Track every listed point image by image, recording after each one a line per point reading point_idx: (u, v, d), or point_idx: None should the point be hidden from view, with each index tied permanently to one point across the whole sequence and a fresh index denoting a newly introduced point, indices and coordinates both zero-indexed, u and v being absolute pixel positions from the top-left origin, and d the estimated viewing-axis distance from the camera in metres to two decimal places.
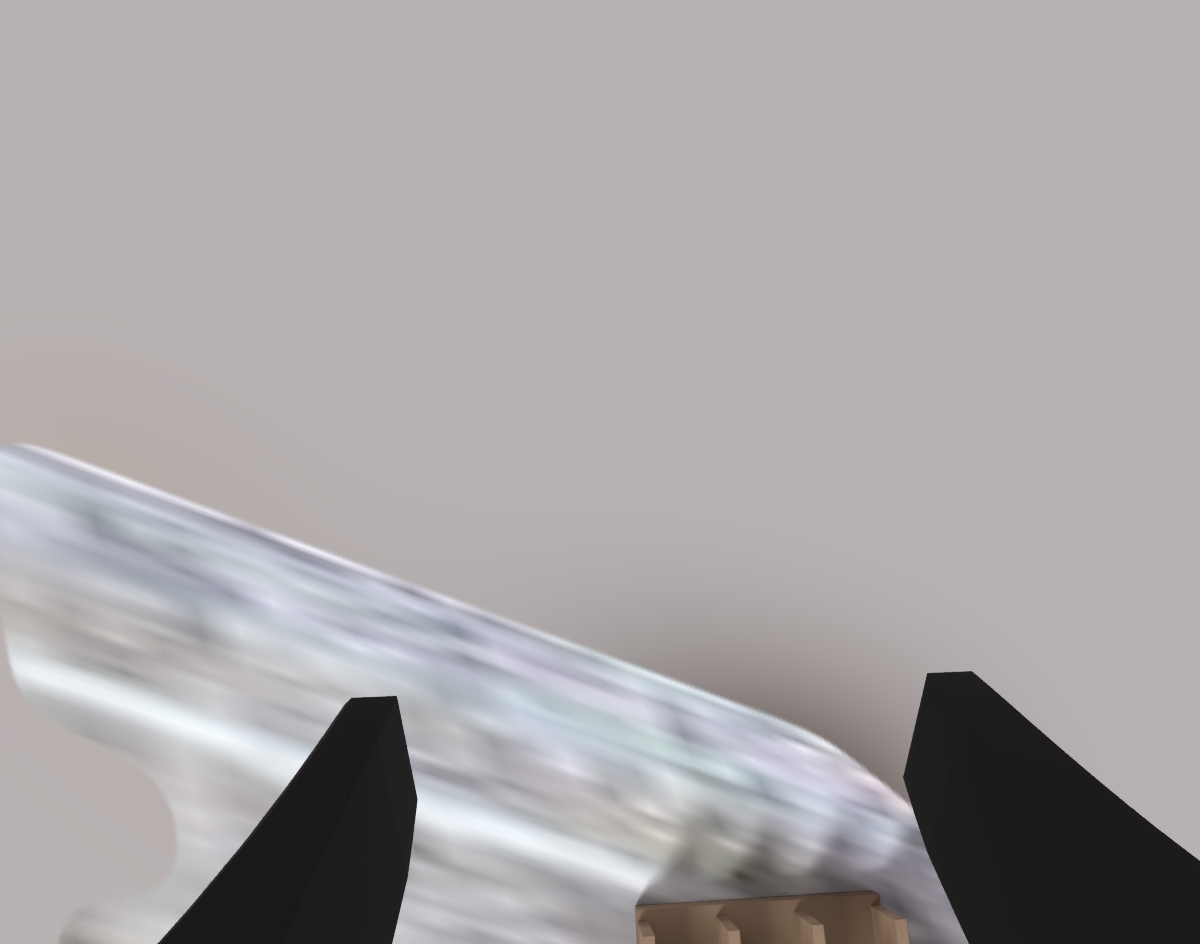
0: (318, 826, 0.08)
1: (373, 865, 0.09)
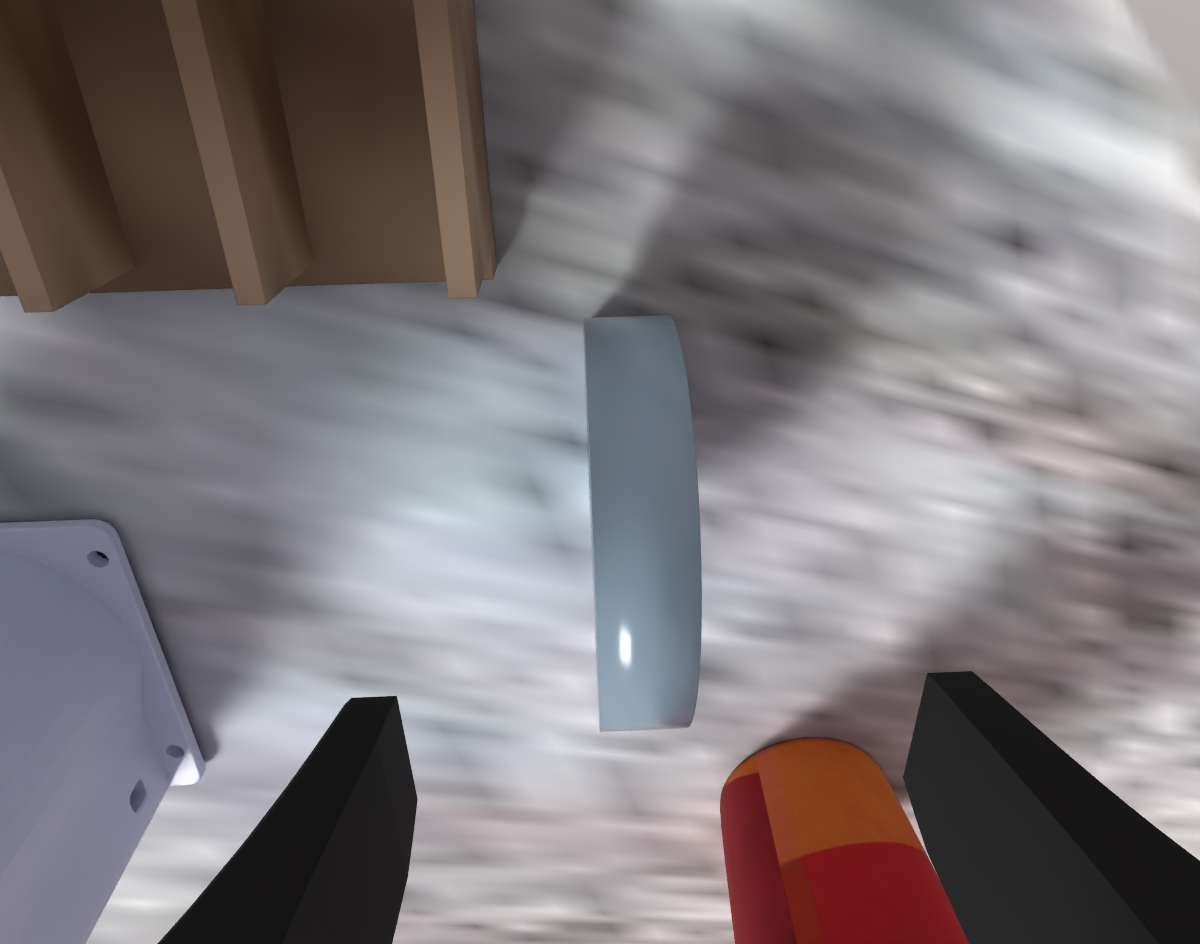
0: (318, 826, 0.08)
1: (373, 865, 0.09)
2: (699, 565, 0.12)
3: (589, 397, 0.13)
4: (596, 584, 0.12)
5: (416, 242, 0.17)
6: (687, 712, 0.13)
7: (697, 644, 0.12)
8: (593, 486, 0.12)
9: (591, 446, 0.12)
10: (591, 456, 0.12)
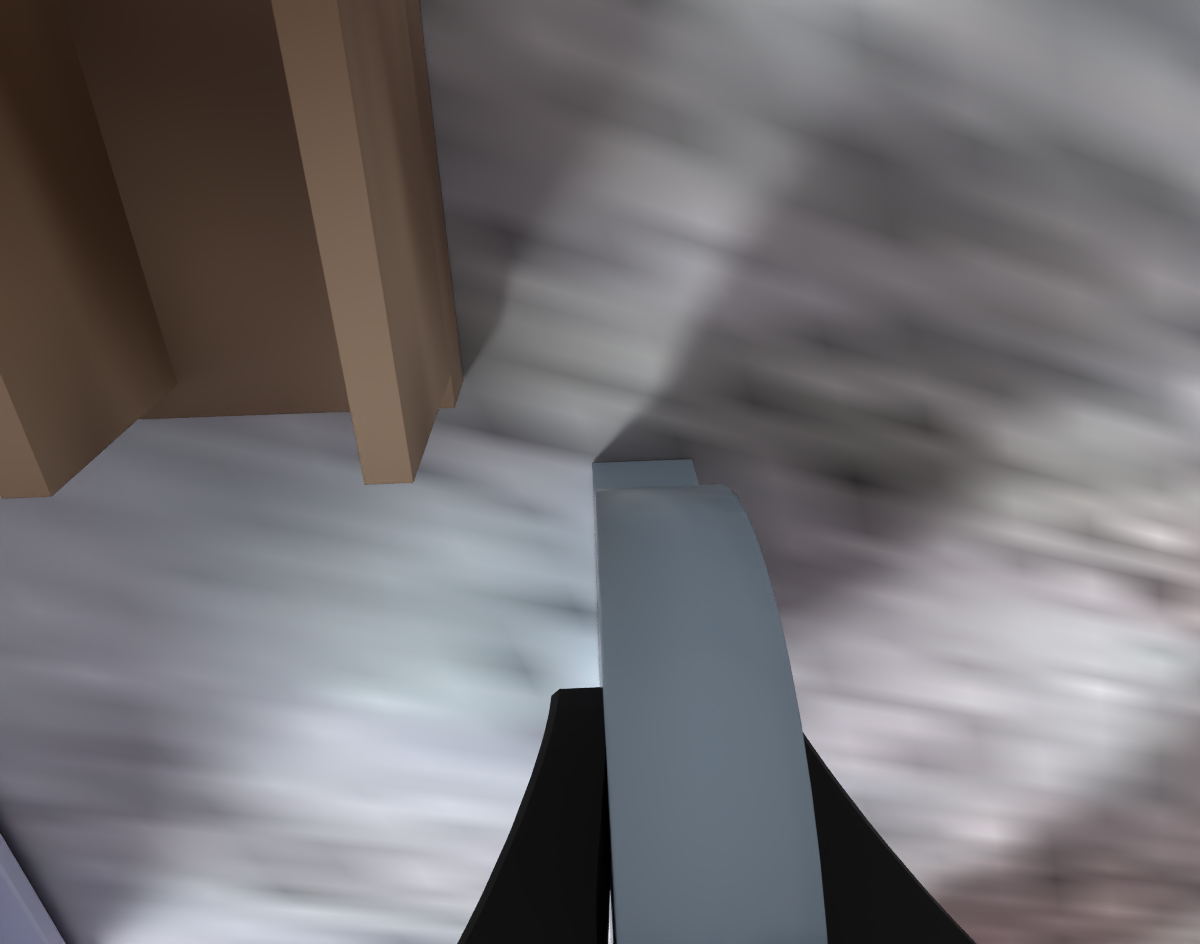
0: (582, 814, 0.08)
1: (605, 854, 0.09)
2: None
3: (611, 717, 0.07)
4: None
5: (334, 355, 0.11)
6: None
7: None
8: (621, 919, 0.06)
9: (616, 828, 0.06)
10: (617, 853, 0.06)
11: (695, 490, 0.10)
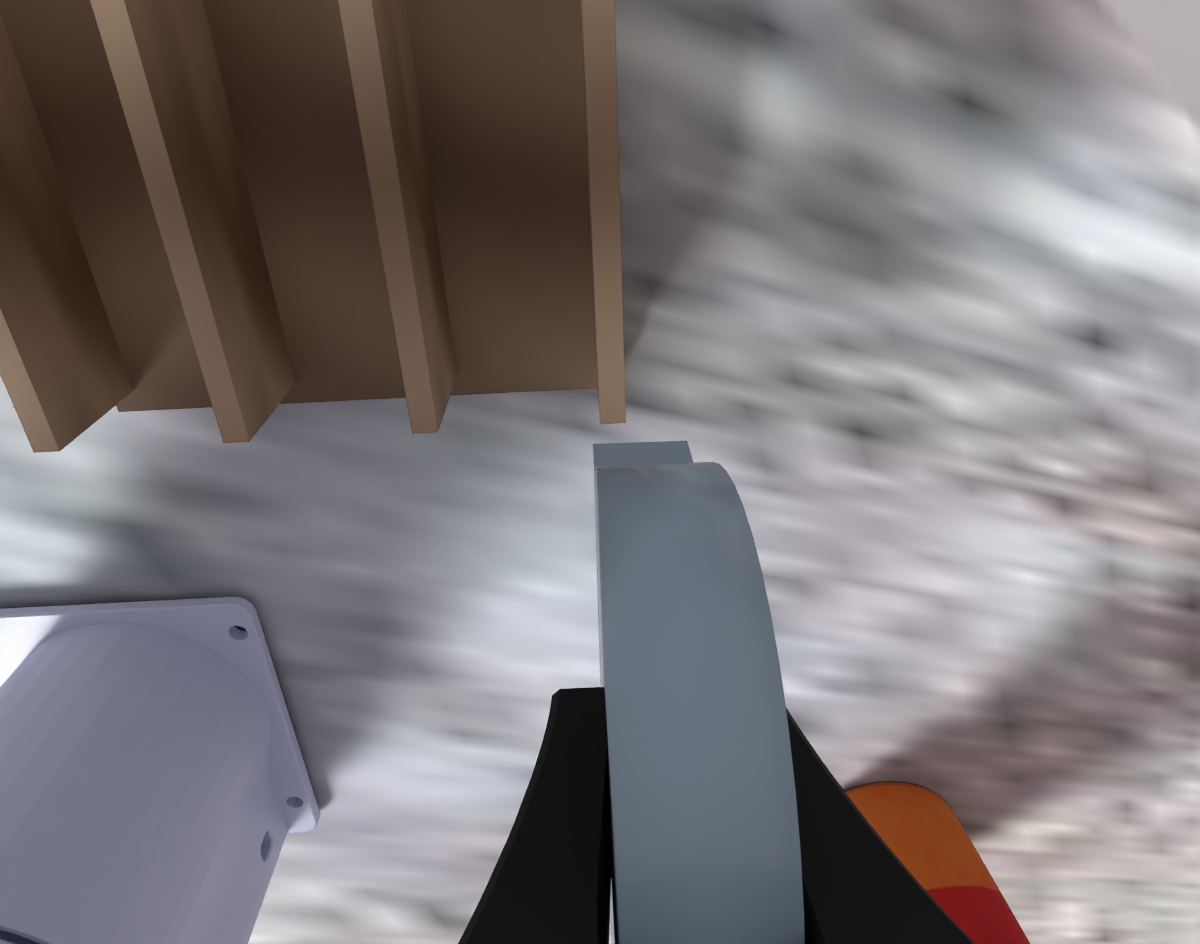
0: (583, 814, 0.08)
1: (606, 854, 0.09)
2: None
3: (610, 664, 0.07)
4: None
5: (551, 356, 0.18)
6: None
7: None
8: (618, 839, 0.07)
9: (614, 760, 0.07)
10: (615, 782, 0.07)
11: (688, 467, 0.10)
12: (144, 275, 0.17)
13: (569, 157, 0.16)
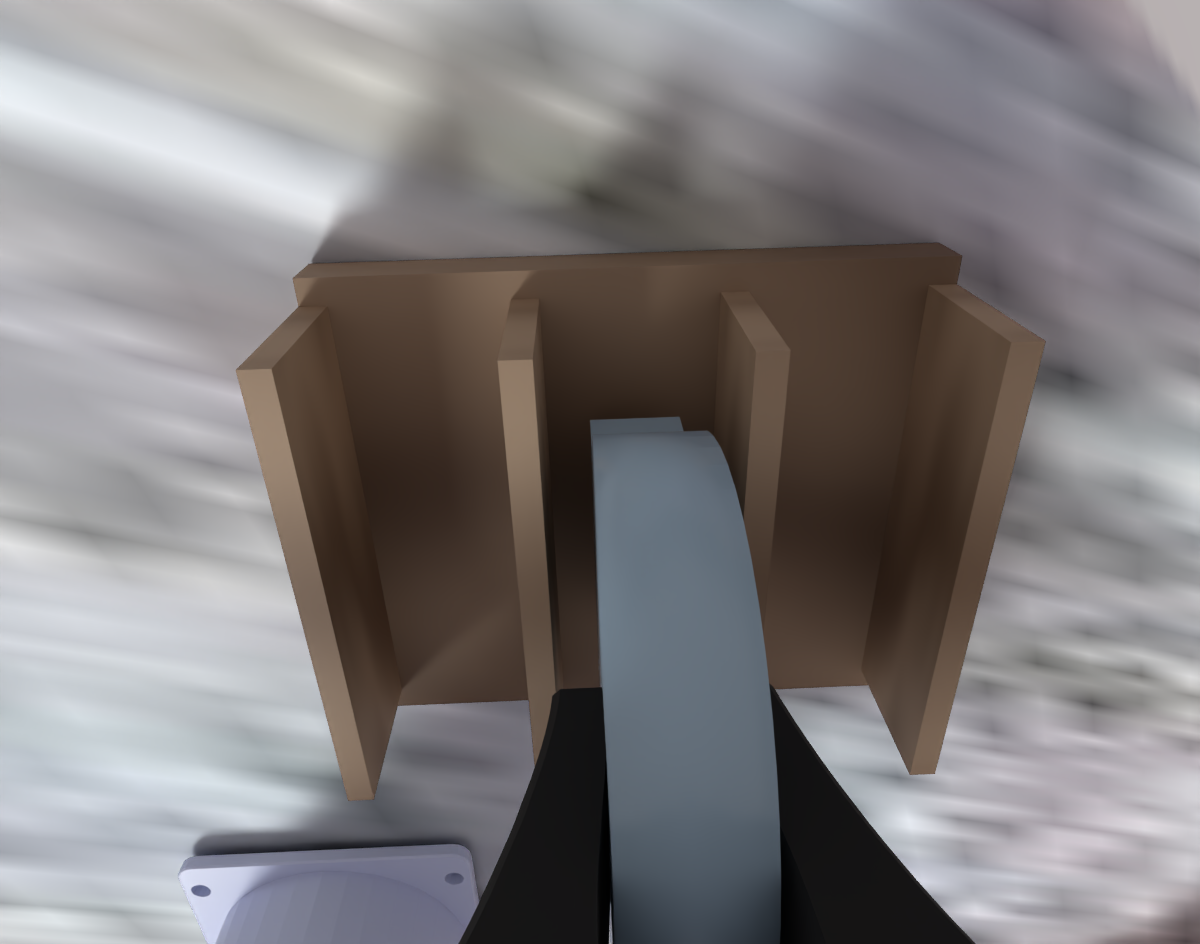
0: (583, 814, 0.08)
1: (606, 854, 0.09)
2: (778, 880, 0.08)
3: (603, 601, 0.08)
4: (615, 910, 0.08)
5: (819, 660, 0.18)
6: None
7: None
8: (611, 756, 0.08)
9: (607, 687, 0.08)
10: (607, 705, 0.08)
11: (678, 433, 0.11)
12: (435, 596, 0.17)
13: (874, 501, 0.16)
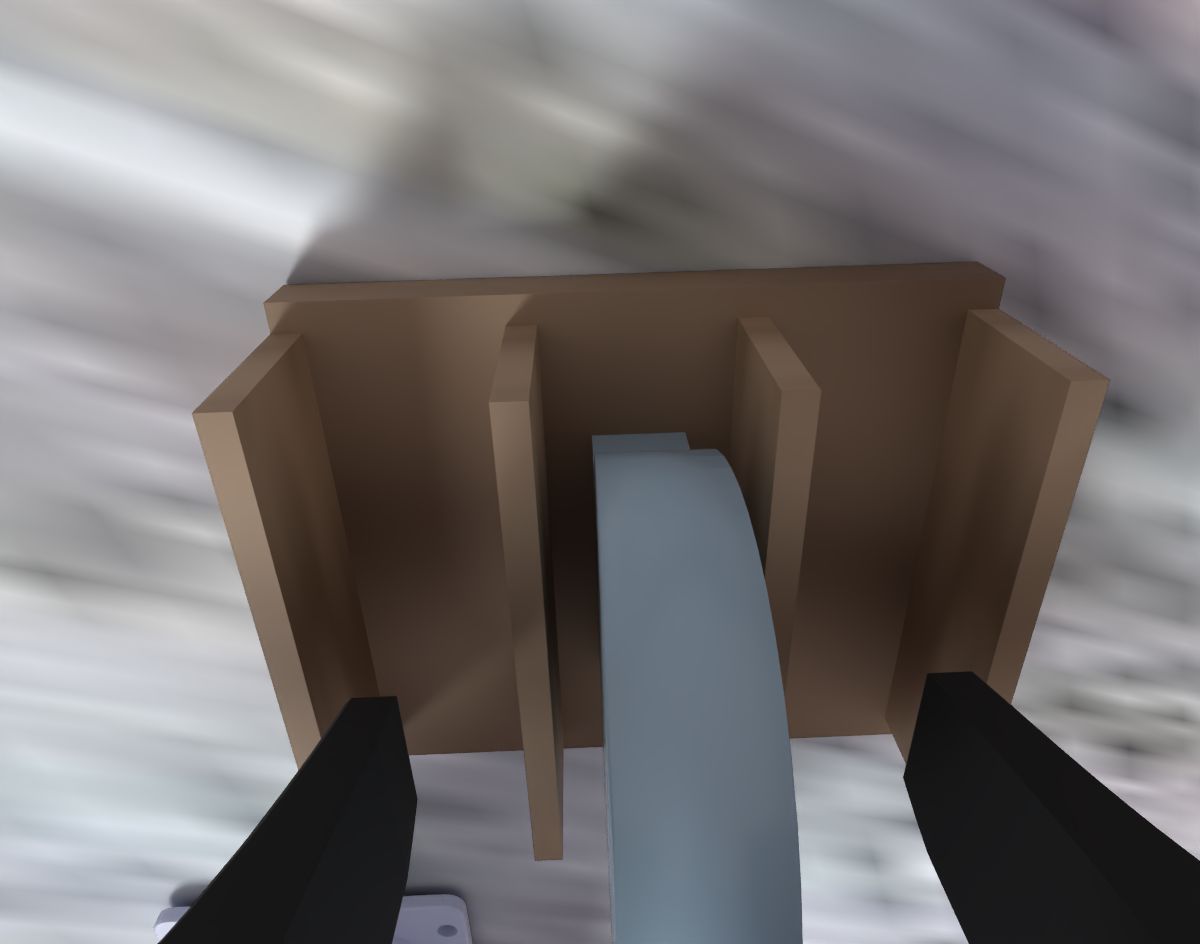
0: (318, 826, 0.08)
1: (373, 865, 0.09)
2: None
3: (608, 638, 0.08)
4: None
5: (839, 708, 0.17)
6: None
7: None
8: (617, 810, 0.07)
9: (612, 733, 0.07)
10: (613, 754, 0.07)
11: (686, 452, 0.10)
12: (424, 642, 0.16)
13: (902, 541, 0.15)
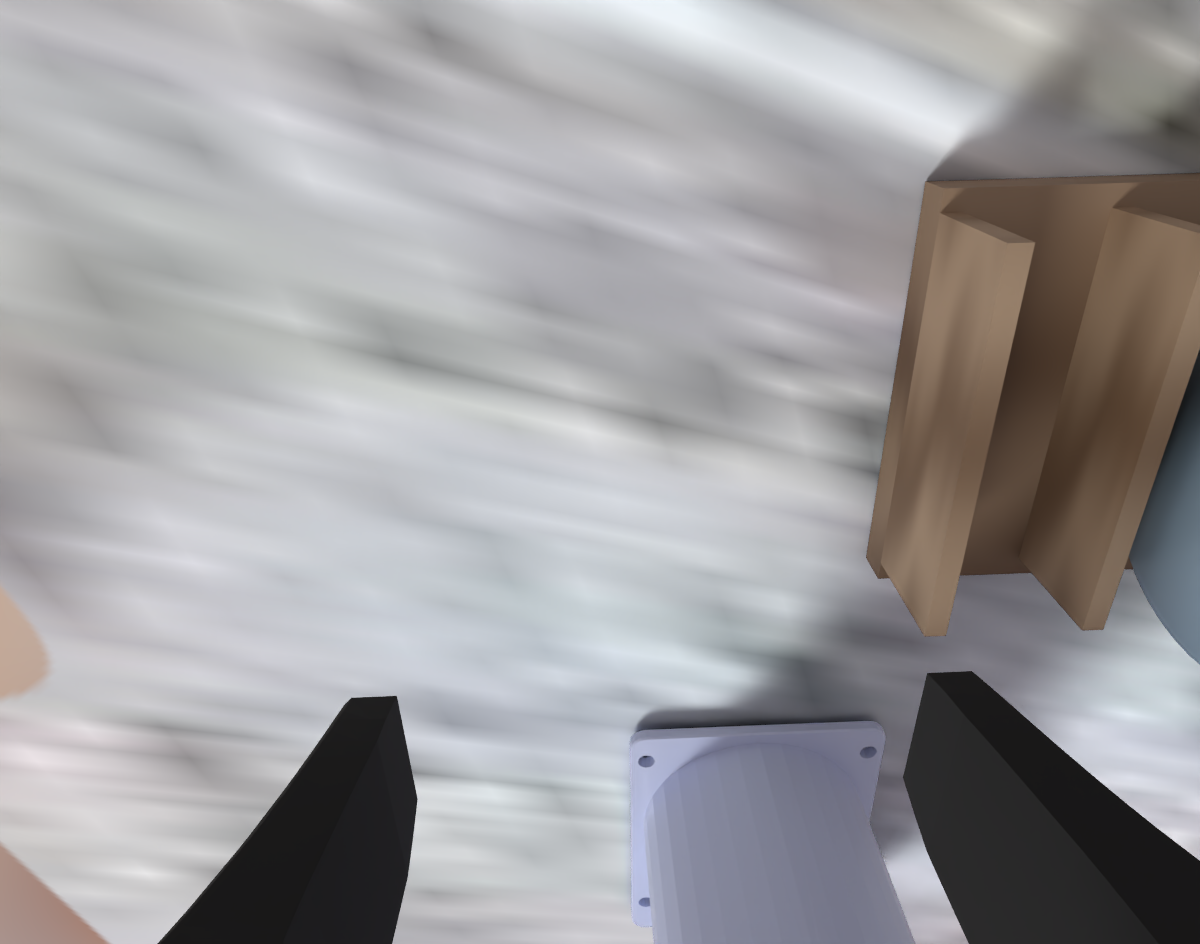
0: (318, 826, 0.08)
1: (373, 865, 0.09)
2: None
3: None
4: None
5: None
6: None
7: None
8: None
9: None
10: None
11: None
12: None
13: None
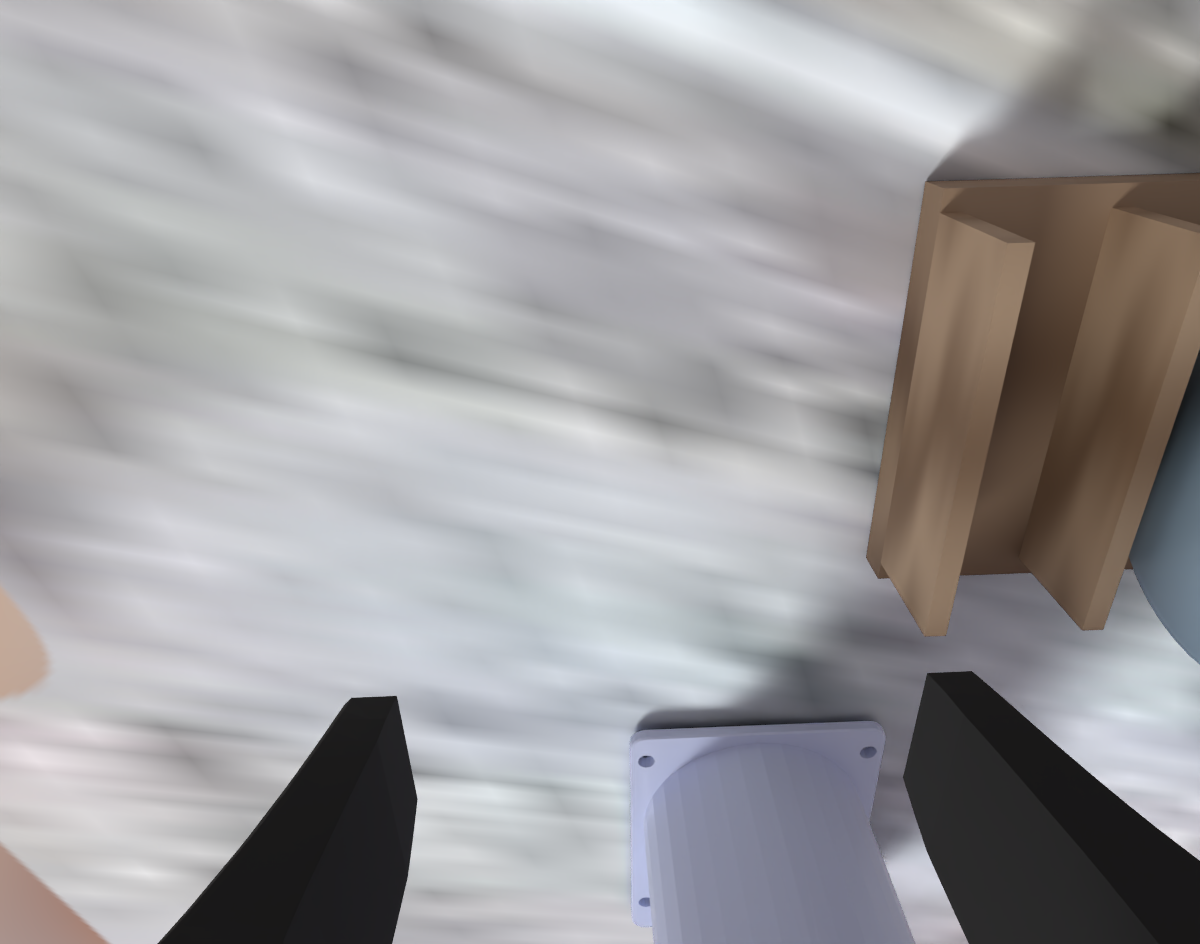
0: (318, 826, 0.08)
1: (373, 865, 0.09)
2: None
3: None
4: None
5: None
6: None
7: None
8: None
9: None
10: None
11: None
12: None
13: None
